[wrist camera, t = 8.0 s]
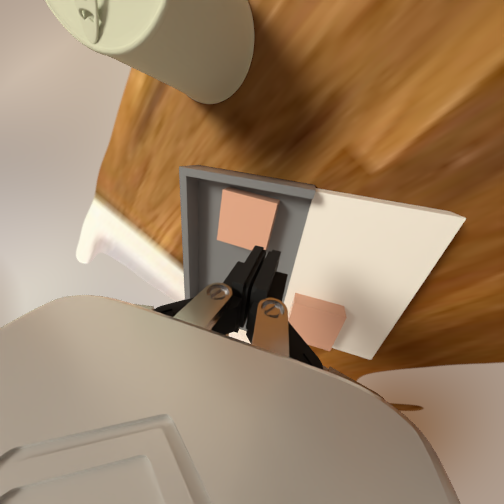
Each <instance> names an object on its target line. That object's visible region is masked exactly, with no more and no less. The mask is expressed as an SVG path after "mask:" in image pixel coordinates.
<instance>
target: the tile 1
mask: <svg viewBox="0 0 504 504" xmlns="http://www.w3.org/2000/svg"><path fill="white" fill-rule="evenodd" d="M279 203H280V200H279V199H275V198H271V197H267V196H263V195H259V194H255V193H251V192H248V191H244V190H240V189H236V188H232V187H228V188H225V189H223V190H222V199H221V208H220V217H219V226H218V235H217V240H219V241H222V242H226V243H229V244H232V245H235V246H239V247H242V248H245V249H249V250H253V248H254V246H255V245H256V246H260V247H264V250H267V248H268V245H269V241H270V237H271V233H272V230H273V226H274V222H275V218H276V214H277V210H278V206H279Z"/></svg>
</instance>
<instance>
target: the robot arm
mask: <svg viewBox="0 0 504 504" xmlns="http://www.w3.org/2000/svg"><path fill="white" fill-rule="evenodd" d="M280 255H281V251H277V250H272V252H271V251H268V254H267V256H266V250H264V247H260V246H256V245H255V246H254V248H253V250H252V251H251V253H250V254H249V256H248V258H247V259H246V261H245V262H244V263H243V262H240V261H238V262H237V263H236V265H235V266H234V267H233V269H232V270H231V272H230V273H229V275H228V276H227V278H226V279H225V280H224V282H223V283H212V284H210V285H208V286H206V287H205V288H204V289H203V290H202V291H201V292H200V293H199V294H198V295H197V296H196V297H194V298H190V299H186V300H182V301H178V302H174V303H171V304H167V305H163V306H160V307H157V308H156V309H154V307H153V306H146V305H137V304H131V303H128V302H124V301H121V300H117V299H113V298H108V297H103V296H94V295H77V296H68V297H63V298H59V299H56V300H53V301H51V302H49V303H47V304H44V305H42V306H40V307H38V308H36V309H34V310H32V311H30V312H29V313H27V314H25V315H23V316H21V317H19V318H17V319H16V320H14V321H12V322H10V323H8V324H6V325H5V326H3V327H1V328H0V504H460V501H459V499H458V497H457V495H456V492H455V490H454V488H453V486H452V484H451V482H450V480H449V478H448V476H447V473H446V471H445V469H444V467H443V465H442V463H441V462H440V460H439V458H438V456H437V454H436V452H435V451H434V449H433V448H432V446H431V444H430V443H429V441H428V440H427V439H426V437H425V436H424V435H423V433H422V432H421V431H420V430H419V429H418V428H417V427H416V425H415V424H414V423H413V422H411V421H410V420H409V419H408V418H407V417H406V416H405V415H404V414H402V413H401V412H400V411H399V410H398V409H396V408H395V407H394V406H392V405H391V404H389V403H388V402H386V401H385V400H384V398H383V397H381V396H380V395H379V394H377V393H376V392H374V391H372V390H370V389H368V388H367V387H365V386H363V385H362V384H360V383H358V382H356V381H355V380H353V379H351V378H349V377H347V376H346V375H344V374H342V373H340V372H339V371H337V370H335V369H333V368H332V367H329V369H328V368H326V367H325V366H323V365H322V363H321V361H320V360H319V358H318V357H317V356H316V355H315V353H314V352H313V351H312V350H311V348H310V347H309V346H308V345H307V343H306V342H305V341H304V340H303V339H302V337H301V336H300V335H299V334H298V332H297V331H296V330H295V329H294V327H293V326H292V325H291V324H290V323H289V321H288V310H287V307H286V305H285V304H284V303H283V302H282V299H283V294H284V290H285V285H286V281H287V277H288V274H285V273H281V272H277V268H278V264H279V259H280ZM265 256H266V258H265ZM246 320H247V323H246V329H247V333H246V335H247V337H248V339H249V341H250V343H251V344H249V343H246V342H244V341H241V340H238V339H235V338H232V337H229V336H228V335H229V333H231V332H237V333H238V330H239V328H240V327H241V328H243V327H244V325H245V322H246Z"/></svg>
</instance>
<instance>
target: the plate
mask: <svg viewBox="0 0 504 504" xmlns="http://www.w3.org/2000/svg"><path fill="white" fill-rule="evenodd" d="M315 189H316V191H315V195H314V198H313V199H312V201H311V204H310V208H309V212H308V215H307V219H306V223H305V226H304V230H303V234H302V237H301V241H300V245H299V248H298V252H297V256H296V260H295V263H294V267H293V271H292V274H291V278H290V282H289V285H288V289H287V293H286V296H285V300H284V304H285V305H286V307H287V310H288V315H289V312H290V308H291V305H292V302H293V298H294V295H295V293H299V294H302V295H306V296H310V297H313V298H317V299H321V300H324V301H328V302H331V303H335V304H339V305H342V306H344V308H345V312H346V317H347V318H346V320H345V322H344V324H343V326H342V328H341V330H340V332H339V334H338V336H337V338H336V340H335V342H334V344H333V346H332V348H334V349H337V350H341V351H344V352H347V353H350V354H353V355H357V356H360V357H363V358H366V359H369V360H371V359H372V358H373V356H374V355H375V353H376V352H377V350H378V349H379V347H380V346H381V344H382V343H383V341H384V340H385V338H386V337H387V335H388V334H389V332H390V331H391V330H392V328H393V327H394V325H395V324H396V322H397V321H398V319H399V318H400V316H401V315H402V313H403V312H404V310H405V309H406V307H407V306H408V304H409V303H410V301H411V300H412V298H413V297H414V295H415V294H416V292H417V291H418V289H419V288H420V287H421V285H422V284H423V282H424V281H425V279H426V278H427V276H428V275H429V273H430V272H431V270H432V269H433V267H434V266H435V264H436V263H437V261H438V260H439V258H440V257H441V255H442V254H443V252H444V251H445V249H446V248H447V246H448V245H449V244H450V242H451V241H452V239H453V238H454V236H455V235H456V233H457V232H458V230H459V229H460V227H461V226H462V224H463V223H464V221H465V220H466V218H465V217H462V216H460V215H457V214H455V213H452V212H450V211H445V210H439V209H433V208H428V207H422V206H416V205H410V204H405V203H399V202H393V201H387V200H382V199H376V198H370V197H364V196H359V195H353V194H347V193H341V192H336V191H330V190H324V189H318V188H315Z"/></svg>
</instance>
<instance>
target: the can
mask: <svg viewBox="0 0 504 504" xmlns="http://www.w3.org/2000/svg"><path fill="white" fill-rule="evenodd" d="M45 1H46V3H47V5H48V6H49V8H50V9H51V10H52V12H53V14H54V15H55V16H56V18H57V19H58V20H59V22H60V23H61V24H62V25H63V26H64V27H65V28H66V30H67V31H68V32H69V33H70V34H71V35H73V37H75V38H76V39H77V40H78V41H79V42H81V43H82V44H83V45H85V46H87V47H88V48H89V49H91V50H93V51H95V52H97V53H100V54H103V55H107V56H109V57H111V58H114V59H116V60H118V61H120V62H122V63H124V64H127V65H128V66H130V67H133V68H135V69H137V70H139V71H141V72H143V73H145V74H147V75H149V76H151V77H153V78H155V79H157V80H159V81H161V82H163V83H165V84H168V85H170V86H172V87H174V88H176V89H178V90H179V91H181V92H183V93H185V94H186V95H187V96H189V97H190V98H192V99H193V100H195V101H197V102H200V103H204V104H215V103H219V102H222V101H224V100H226V99H228V98H229V97H230V96H232V95H233V94H234V93H235V92H236V91H237V90H238V88H239V87H240V86H241V84H242V83H243V81H244V79H245V77H246V75H247V73H248V70H249V67H250V64H251V60H252V56H253V50H254V23H253V17H252V12H251V9H250V6H249V3H248V0H45Z"/></svg>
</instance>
